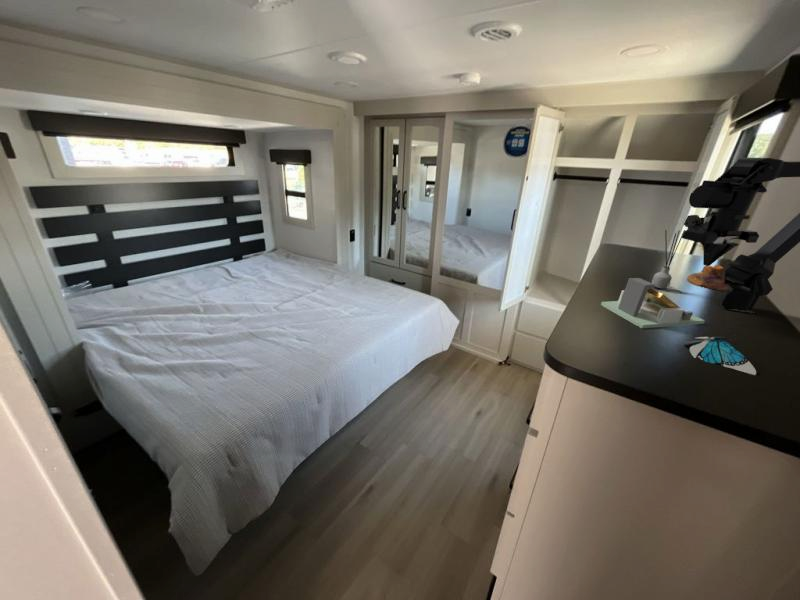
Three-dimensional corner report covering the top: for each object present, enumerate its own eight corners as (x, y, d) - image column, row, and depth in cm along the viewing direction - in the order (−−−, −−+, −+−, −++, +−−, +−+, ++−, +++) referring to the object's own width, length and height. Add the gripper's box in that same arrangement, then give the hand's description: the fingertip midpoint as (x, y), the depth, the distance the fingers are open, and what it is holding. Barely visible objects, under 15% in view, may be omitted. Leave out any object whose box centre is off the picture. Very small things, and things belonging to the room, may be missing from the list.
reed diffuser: (661, 293, 104) (687, 233, 96) (638, 286, 109) (660, 228, 101) (672, 287, 110) (697, 230, 101) (650, 280, 115) (672, 225, 106)
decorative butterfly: (679, 326, 75) (735, 326, 71) (676, 350, 77) (731, 351, 73) (697, 348, 67) (762, 349, 63) (694, 373, 69) (757, 376, 65)
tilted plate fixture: (656, 301, 97) (669, 270, 93) (703, 323, 85) (720, 289, 81) (600, 304, 94) (611, 272, 89) (641, 328, 81) (656, 292, 77)
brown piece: (696, 288, 110) (705, 268, 107) (679, 277, 120) (688, 259, 117) (737, 293, 107) (748, 273, 104) (716, 281, 118) (725, 263, 114)
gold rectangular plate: (654, 297, 94) (630, 279, 89) (687, 313, 85) (663, 293, 80) (650, 301, 94) (626, 283, 90) (683, 317, 85) (659, 298, 81)
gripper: (726, 205, 92) (702, 256, 99) (674, 204, 89) (653, 257, 95) (773, 211, 82) (743, 268, 89) (717, 211, 79) (690, 270, 85)
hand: (706, 265), depth 90 cm, fingers closed
